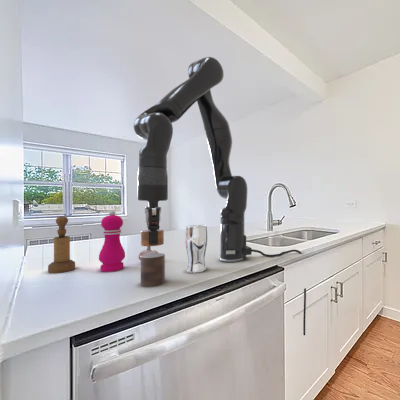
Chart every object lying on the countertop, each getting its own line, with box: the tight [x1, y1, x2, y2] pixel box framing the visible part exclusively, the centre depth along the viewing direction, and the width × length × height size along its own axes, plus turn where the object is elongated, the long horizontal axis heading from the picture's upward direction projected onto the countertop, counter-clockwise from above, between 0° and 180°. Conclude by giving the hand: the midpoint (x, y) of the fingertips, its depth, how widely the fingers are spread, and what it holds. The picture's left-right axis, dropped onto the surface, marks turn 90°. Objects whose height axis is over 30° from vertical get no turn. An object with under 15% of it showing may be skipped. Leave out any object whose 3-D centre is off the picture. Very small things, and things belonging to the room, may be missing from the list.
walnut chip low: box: [140, 268, 166, 288], centre depth 73 cm, size 6×6×4 cm
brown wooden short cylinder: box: [140, 228, 165, 247], centre depth 72 cm, size 6×6×4 cm
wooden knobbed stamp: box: [47, 215, 76, 274], centre depth 84 cm, size 7×6×18 cm
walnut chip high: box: [140, 252, 166, 273], centre depth 73 cm, size 6×6×4 cm
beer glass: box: [184, 224, 208, 274], centre depth 85 cm, size 7×7×15 cm
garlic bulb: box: [138, 246, 159, 262], centre depth 95 cm, size 8×7×8 cm
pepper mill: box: [98, 210, 126, 273], centre depth 86 cm, size 7×7×20 cm
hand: (152, 242), depth 73 cm, fingers closed on brown wooden short cylinder, 5 cm apart
